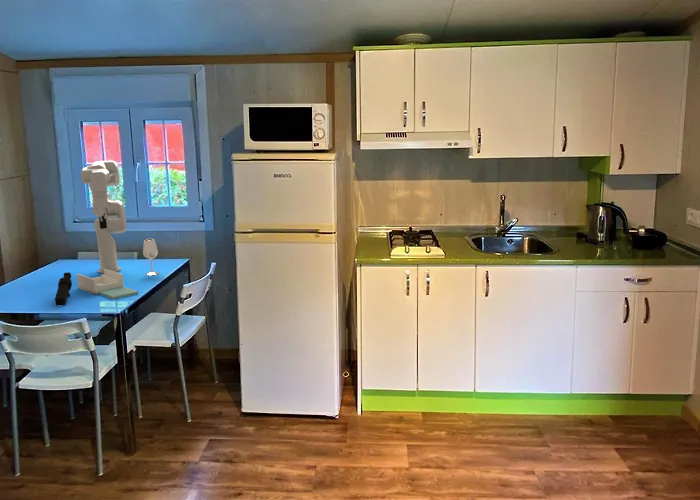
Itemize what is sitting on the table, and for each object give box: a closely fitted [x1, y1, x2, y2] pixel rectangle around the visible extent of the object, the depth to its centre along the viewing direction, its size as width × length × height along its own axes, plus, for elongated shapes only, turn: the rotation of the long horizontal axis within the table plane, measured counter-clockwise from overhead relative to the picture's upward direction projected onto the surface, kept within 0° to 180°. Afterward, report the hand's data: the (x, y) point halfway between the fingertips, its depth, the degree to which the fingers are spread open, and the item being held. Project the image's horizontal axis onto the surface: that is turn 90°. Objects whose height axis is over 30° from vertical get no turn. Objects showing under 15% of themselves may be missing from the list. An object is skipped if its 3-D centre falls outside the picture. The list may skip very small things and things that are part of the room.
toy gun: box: [54, 272, 73, 307], centre depth 296 cm, size 6×25×10 cm, turn 15°
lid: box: [98, 286, 139, 300], centre depth 303 cm, size 16×13×2 cm
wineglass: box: [142, 238, 160, 276], centre depth 343 cm, size 8×8×20 cm
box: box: [76, 269, 125, 296], centre depth 315 cm, size 20×15×8 cm
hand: (103, 228), depth 323 cm, fingers closed
